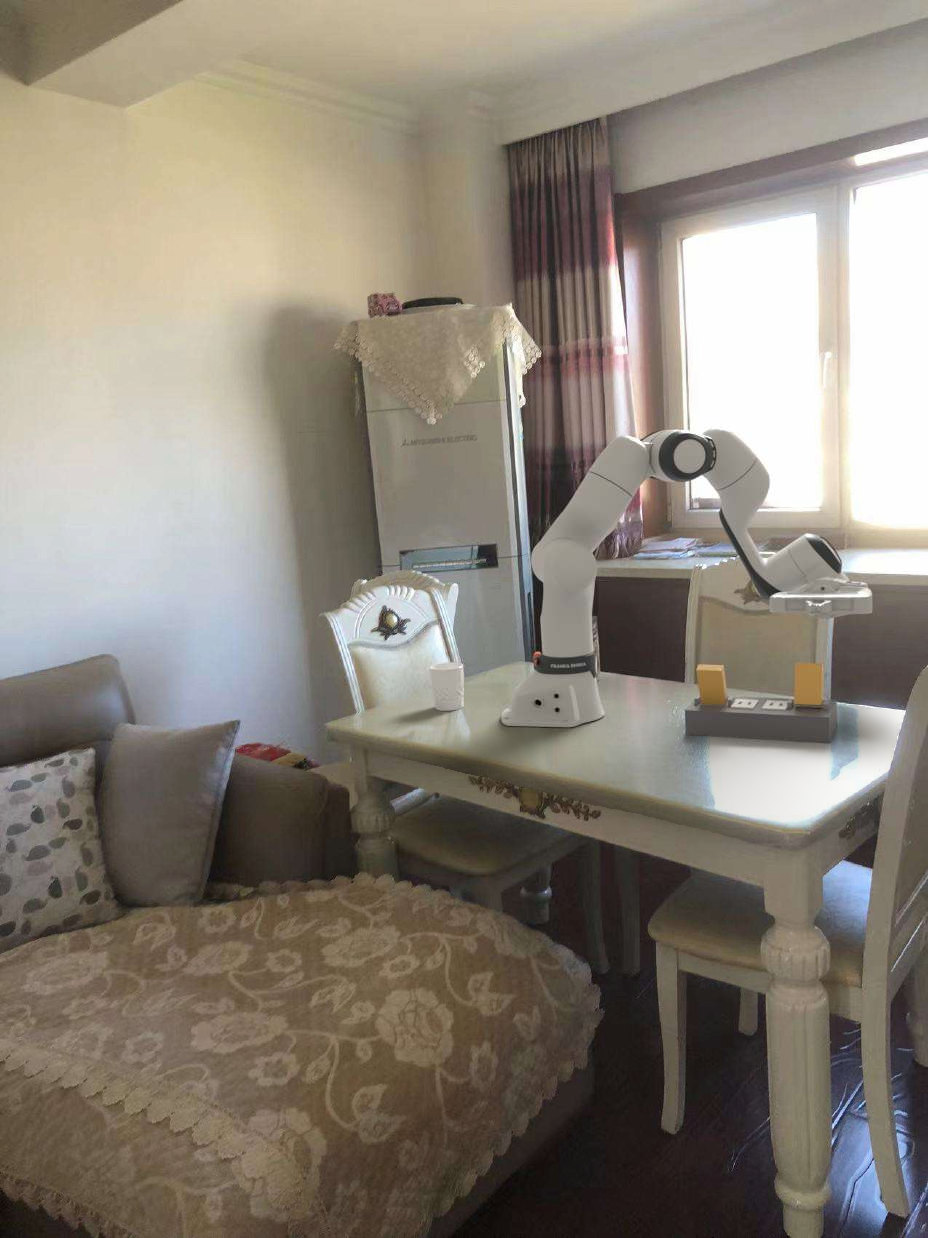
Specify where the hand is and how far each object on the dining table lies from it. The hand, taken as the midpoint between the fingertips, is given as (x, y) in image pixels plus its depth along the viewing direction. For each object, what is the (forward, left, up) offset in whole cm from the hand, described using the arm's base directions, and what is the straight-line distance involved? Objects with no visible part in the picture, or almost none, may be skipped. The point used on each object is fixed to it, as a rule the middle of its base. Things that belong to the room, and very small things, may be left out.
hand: (815, 609), depth 200 cm
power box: (-13, -10, -22) cm, 27 cm away
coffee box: (-49, +35, -22) cm, 64 cm away
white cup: (-80, +16, -22) cm, 84 cm away
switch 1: (-21, -7, -16) cm, 28 cm away
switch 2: (-4, -12, -16) cm, 21 cm away
